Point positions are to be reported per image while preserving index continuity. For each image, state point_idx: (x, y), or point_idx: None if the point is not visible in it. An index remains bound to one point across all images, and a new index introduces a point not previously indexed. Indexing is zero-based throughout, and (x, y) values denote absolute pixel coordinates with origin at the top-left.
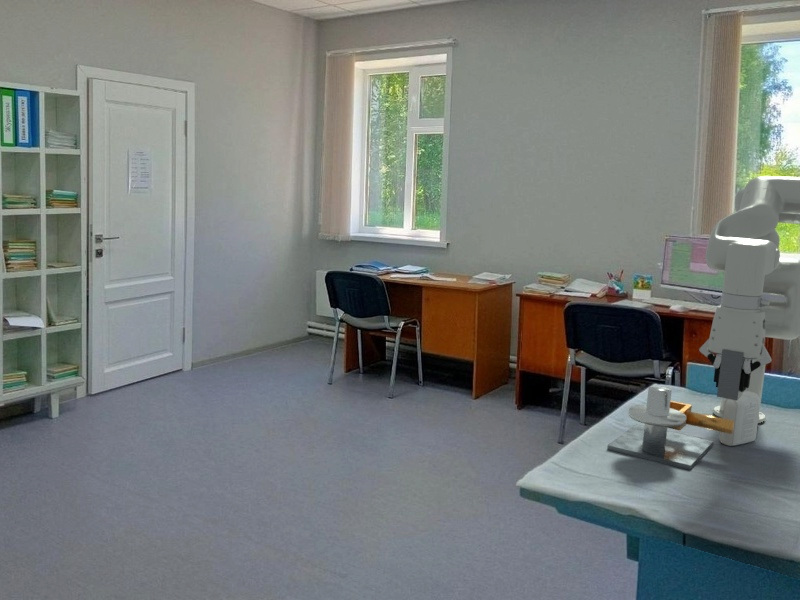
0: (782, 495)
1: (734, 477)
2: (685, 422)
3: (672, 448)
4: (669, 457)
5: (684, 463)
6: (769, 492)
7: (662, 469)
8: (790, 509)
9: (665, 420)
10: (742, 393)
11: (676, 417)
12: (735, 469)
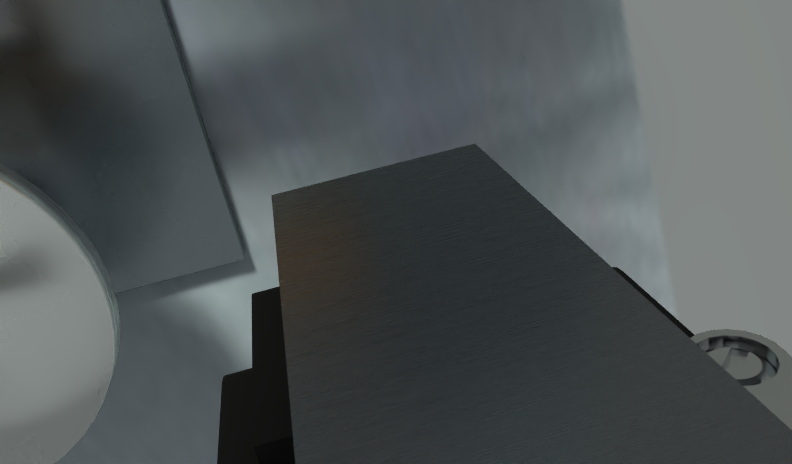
0: (613, 177)
1: (412, 158)
2: (100, 263)
3: (25, 112)
4: (117, 252)
5: (211, 261)
6: (569, 192)
7: (167, 344)
8: (660, 277)
9: (56, 434)
10: (481, 153)
11: (44, 320)
12: (371, 49)
